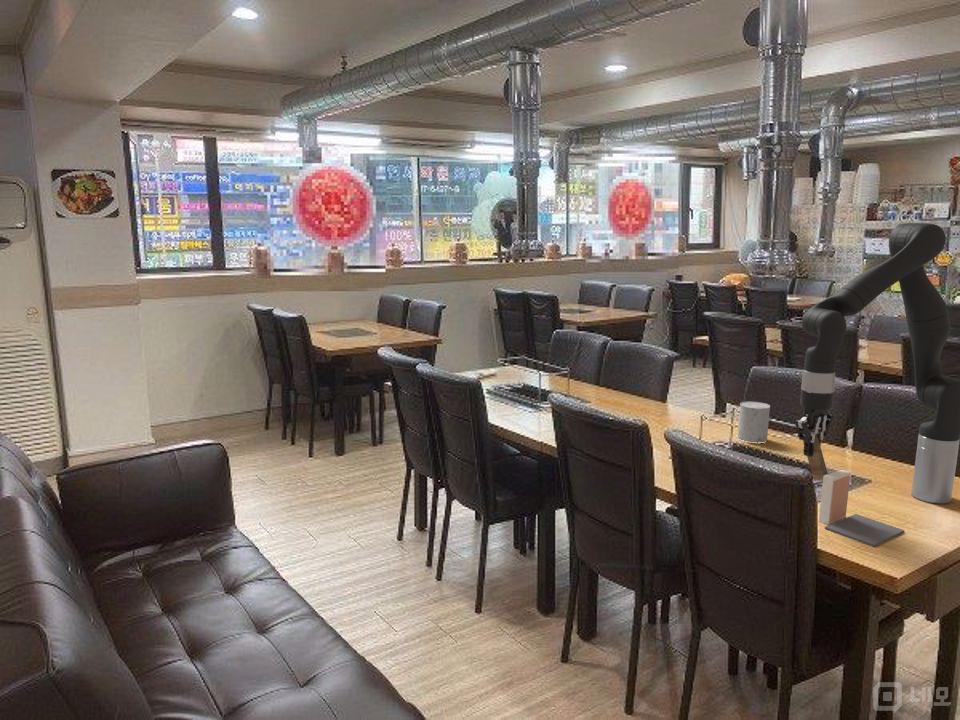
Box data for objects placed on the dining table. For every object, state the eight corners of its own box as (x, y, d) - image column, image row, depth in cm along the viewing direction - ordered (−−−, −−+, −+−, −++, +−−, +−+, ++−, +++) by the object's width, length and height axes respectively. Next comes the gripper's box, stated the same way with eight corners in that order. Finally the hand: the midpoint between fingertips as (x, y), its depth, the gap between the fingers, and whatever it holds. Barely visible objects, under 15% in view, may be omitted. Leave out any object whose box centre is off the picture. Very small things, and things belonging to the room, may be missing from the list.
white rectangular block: (836, 514, 183) (841, 469, 180) (846, 517, 180) (851, 472, 178) (818, 521, 178) (823, 475, 176) (829, 525, 176) (834, 478, 174)
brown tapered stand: (817, 477, 184) (804, 427, 186) (835, 476, 180) (821, 424, 182) (806, 481, 182) (793, 430, 183) (824, 480, 177) (810, 427, 179)
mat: (855, 515, 182) (855, 513, 181) (904, 532, 172) (904, 530, 172) (824, 528, 174) (824, 526, 174) (873, 546, 164) (874, 544, 164)
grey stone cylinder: (737, 442, 241) (740, 407, 239) (737, 434, 250) (739, 400, 248) (767, 445, 238) (771, 409, 236) (766, 437, 247) (769, 402, 245)
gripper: (819, 382, 186) (813, 446, 189) (787, 389, 178) (781, 455, 182) (847, 387, 180) (840, 453, 183) (815, 395, 172) (809, 463, 175)
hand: (811, 454), depth 182 cm, fingers closed on brown tapered stand, 2 cm apart
